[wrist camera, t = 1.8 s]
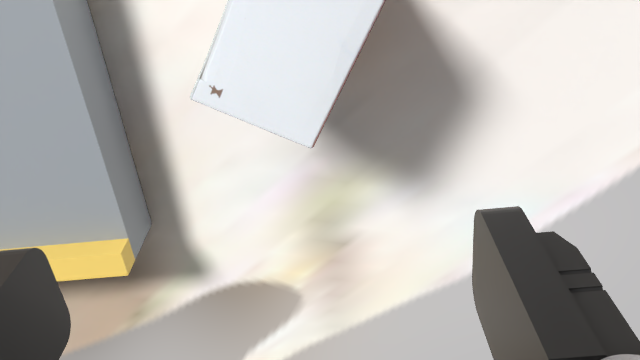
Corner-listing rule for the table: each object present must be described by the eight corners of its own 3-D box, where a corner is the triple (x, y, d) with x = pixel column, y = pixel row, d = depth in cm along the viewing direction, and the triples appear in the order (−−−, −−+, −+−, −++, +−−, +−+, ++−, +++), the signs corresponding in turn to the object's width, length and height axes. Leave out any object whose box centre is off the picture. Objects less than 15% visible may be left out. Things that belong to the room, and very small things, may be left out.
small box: (313, 75, 34) (311, 155, 25) (223, 35, 33) (185, 104, 23) (376, -59, 30) (402, -23, 21) (278, -109, 29) (259, -95, 20)
